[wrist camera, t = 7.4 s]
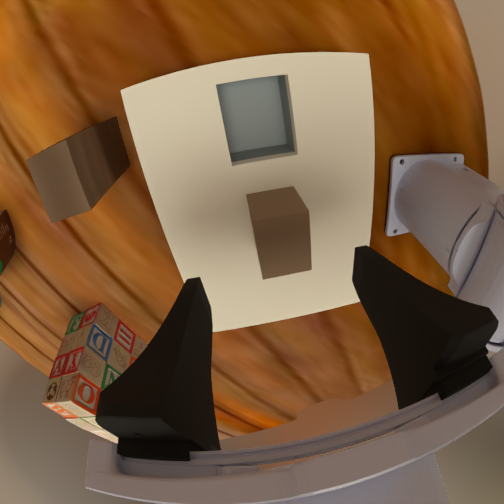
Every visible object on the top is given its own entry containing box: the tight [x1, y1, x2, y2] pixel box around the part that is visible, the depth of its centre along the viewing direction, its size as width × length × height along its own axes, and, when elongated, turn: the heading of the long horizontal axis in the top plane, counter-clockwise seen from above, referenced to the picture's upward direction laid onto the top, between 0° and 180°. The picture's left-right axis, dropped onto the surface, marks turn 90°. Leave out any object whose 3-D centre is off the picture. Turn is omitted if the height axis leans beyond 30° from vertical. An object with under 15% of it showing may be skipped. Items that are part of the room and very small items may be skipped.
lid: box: [121, 52, 375, 332], centre depth 17 cm, size 15×21×4 cm
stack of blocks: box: [42, 303, 148, 444], centre depth 27 cm, size 21×6×12 cm, turn 25°
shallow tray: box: [216, 75, 295, 162], centre depth 20 cm, size 14×20×3 cm
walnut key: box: [27, 117, 130, 223], centre depth 14 cm, size 3×4×8 cm
